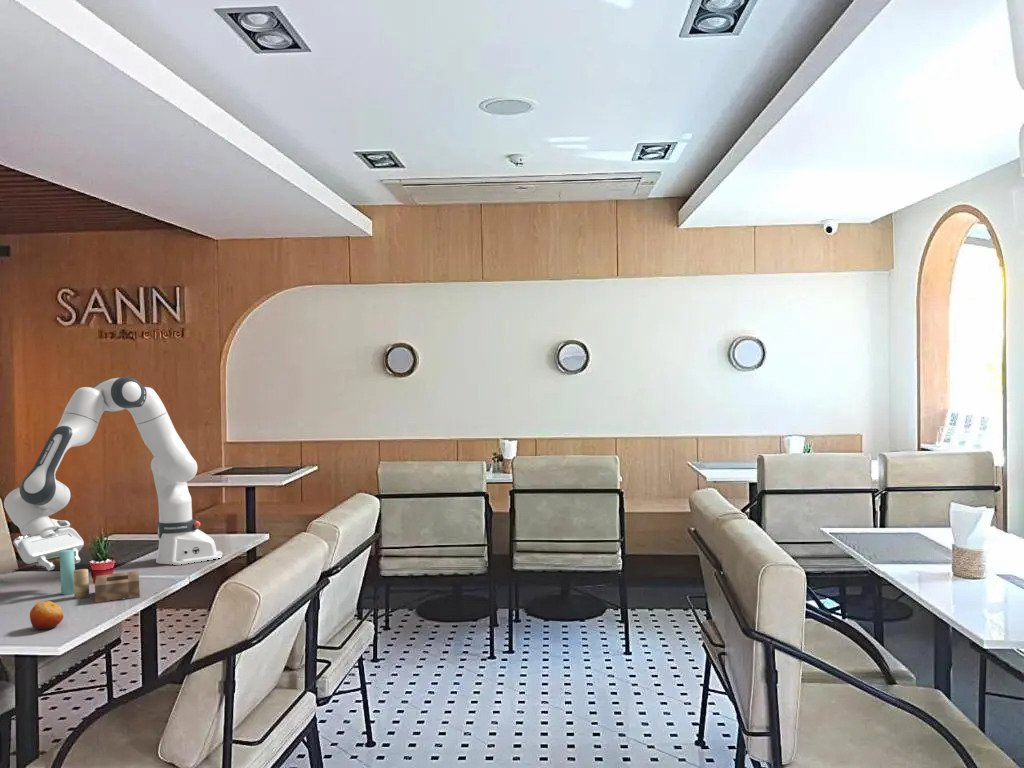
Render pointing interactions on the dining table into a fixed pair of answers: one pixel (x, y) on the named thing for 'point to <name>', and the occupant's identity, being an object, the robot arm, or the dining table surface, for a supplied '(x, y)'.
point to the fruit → (46, 615)
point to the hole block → (117, 586)
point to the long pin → (67, 571)
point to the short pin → (81, 583)
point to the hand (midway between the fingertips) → (65, 565)
